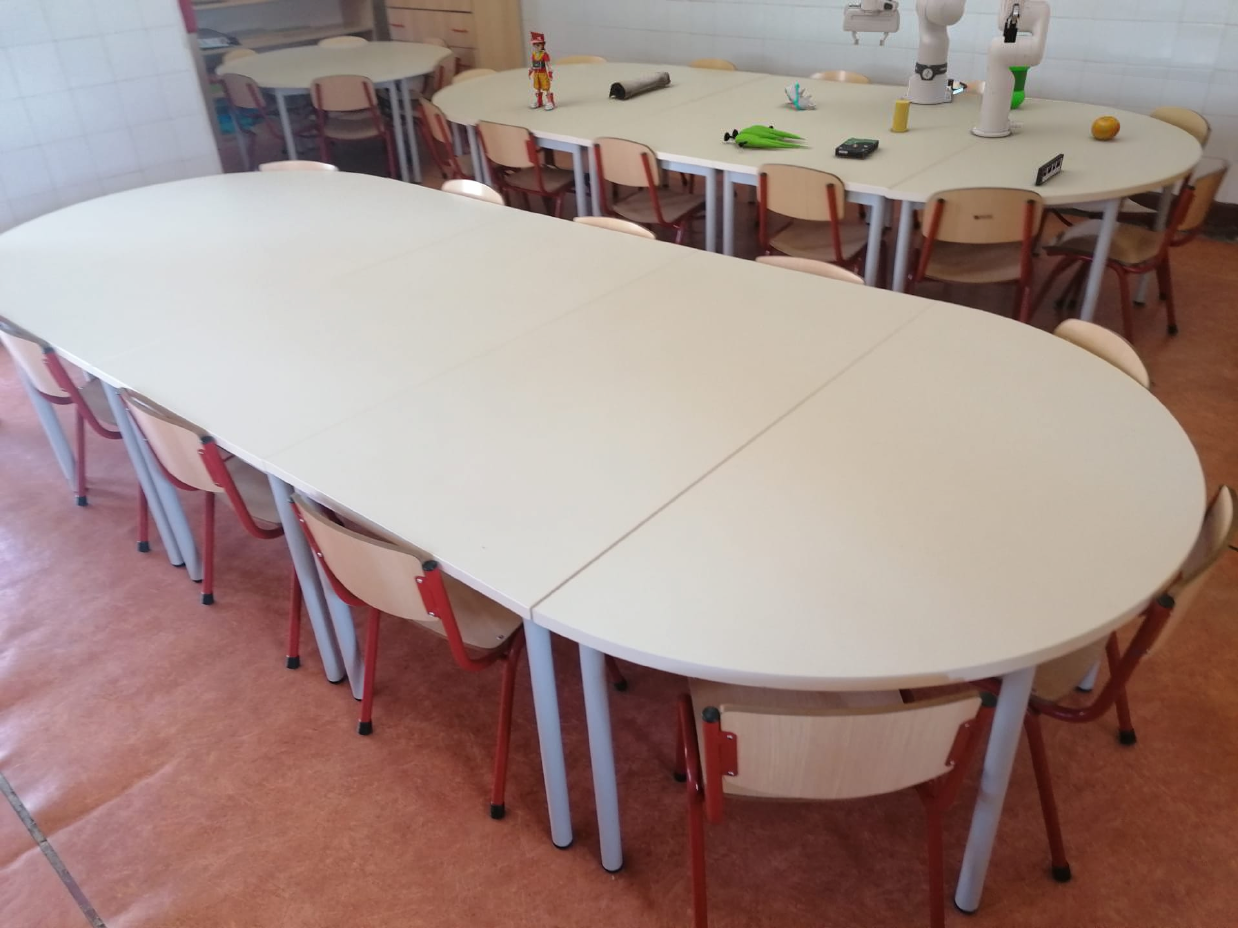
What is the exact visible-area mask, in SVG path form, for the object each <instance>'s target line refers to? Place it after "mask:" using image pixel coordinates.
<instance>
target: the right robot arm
mask: <svg viewBox="0 0 1238 928" xmlns="http://www.w3.org/2000/svg"><path fill="white" fill-rule="evenodd" d="M1050 19H1051V5H1050V3H1048V2H1047V1H1046V0H1000V4H999V11H998V17H997V27H998V29H999V31H1000V32H1003V33H1002V35H997V36H996V37H993V39H992V40H990V42H989V45H988V48H987V64H986V65H987V67H986V76H985V81H984V88H983V96H982V100H981V106H980V110H979V111H980V112H979V117H978V123H977V126H974V127H973V128H972V134H974V135H976V136H979V137H986V138H1002V137H1007V136H1009V135H1010V134H1011V130H1012V129H1021V128H1022V123H1023V122H1022V121H1021V122H1020V121H1019V122H1017V121H1015V120H1013V121H1010V119H1009V117H1010V110H1011V109H1010V106H1011V101H1012V96H1013V90H1014V85H1015V77H1014V75H1013V73H1012V72H1011V70H1010V69H1009V67H1014V66H1018V67H1030V68H1032V67H1037V66H1038V65H1040V63H1041V62H1042V60H1043V57H1044V54H1045V48H1046V43H1047V38H1048V37H1047V35H1048V32H1049V31H1048V30H1049V24H1050ZM1018 33H1030V34H1029V35H1028V34H1018Z"/></svg>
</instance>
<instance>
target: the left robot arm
mask: <svg viewBox="0 0 1238 928" xmlns="http://www.w3.org/2000/svg"><path fill="white" fill-rule="evenodd" d="M966 2H967V0H916V1H915V11H916V15H917V19H918V33H919V35H918V36H919V41H918V53H917V60H916V62H915V65H914V74H913V75H911V76H910V77H909V81H908V88H907V94H905V95H903V96H902V100H909V101H910V103H913V104H921V105H935V104H941V103H952V91H953V95H955V94H958V93H960V92H963V90H965V89H967V88H968V84H966V83H964V82H962V81H959V84H960V85H961V86H963V87H959V88H954V82H955V79H953V78H948V76H947V75H948V74H947V71H948V62H947V61H948V57H949V55H948V54H949V49H950V37H949V34H948V27H949V26H954V25H956V24H957V23H958V22H960V21H961V19H962V18H963V16H964V13H965V4H966ZM899 5H900V4H899V2H898V1H897V0H861V1H860V3H859V2H856V3H854V2H850V3H848V4H846V5H845V6H844V8H843V16H844V19H843V23H842V30H843V32H851V36H852V39H853V45H855V46H857V45H859V42H860V38H858V37H857V34H858V33H857V32H859V33H860V32H862V33H883V36H884V37H883V38H882V39H880V40H879V46H881V47H882V46H883V47H884V46H885V43H886V39H887V38H888V36H889V33H890V34H891V33H892V34H893V33H894V34H895V33H897V32H898V31H899V30H900V25H901V24H900V23H901V14H900V10H898V9H899ZM949 87H950V88H949Z"/></svg>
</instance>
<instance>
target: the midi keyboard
mask: <svg viewBox="0 0 1238 928" xmlns="http://www.w3.org/2000/svg"><path fill="white" fill-rule="evenodd" d="M1064 157H1065V153H1059V154H1058V155H1056V156H1055V157H1052V159H1051V160H1049V161H1047V162H1045V164H1042V165H1041V166H1039V167H1038V169H1037V175H1036V179H1035V186H1040V185H1042V183H1044V182H1045V181H1047V180H1048V179H1049V178H1051V177H1052V176H1054V175H1055V174H1056V173H1058V172H1060V171H1061V170H1062V165H1063V161H1064Z"/></svg>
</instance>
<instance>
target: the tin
mask: <svg viewBox="0 0 1238 928" xmlns="http://www.w3.org/2000/svg"><path fill="white" fill-rule="evenodd" d="M894 102H895V104H894V110H893V111H894V112H893V119H892V127H891V128H892V129H891V131H892V132H894V133H904V132H907V129H908V120H909V112H910V104H911V102H910V101H909V100H905V99H897V100H895V101H894Z"/></svg>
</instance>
